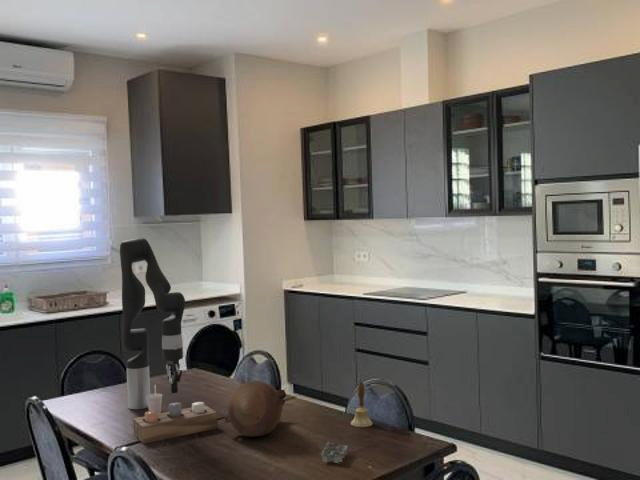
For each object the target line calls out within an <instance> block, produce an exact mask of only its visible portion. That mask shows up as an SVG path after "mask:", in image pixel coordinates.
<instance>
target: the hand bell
mask: <svg viewBox="0 0 640 480" xmlns="http://www.w3.org/2000/svg"><path fill="white" fill-rule="evenodd" d="M365 392H366V391H365V384H364V382H363V381H359V382H358V386H357V394H358V395H357V396H358V399H359V402H358V405H359V406H358V407H357V408H356V409H355V413H354V418H353V420H351V421H350V425H351V426H353V427H355V428H369V427H371V426H373V421H372V420H371V419H370V417H369V416H370V415H369V413H368V409H367V408H365V405H364V403H365V402H364V396H365V394H366V393H365Z"/></svg>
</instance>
